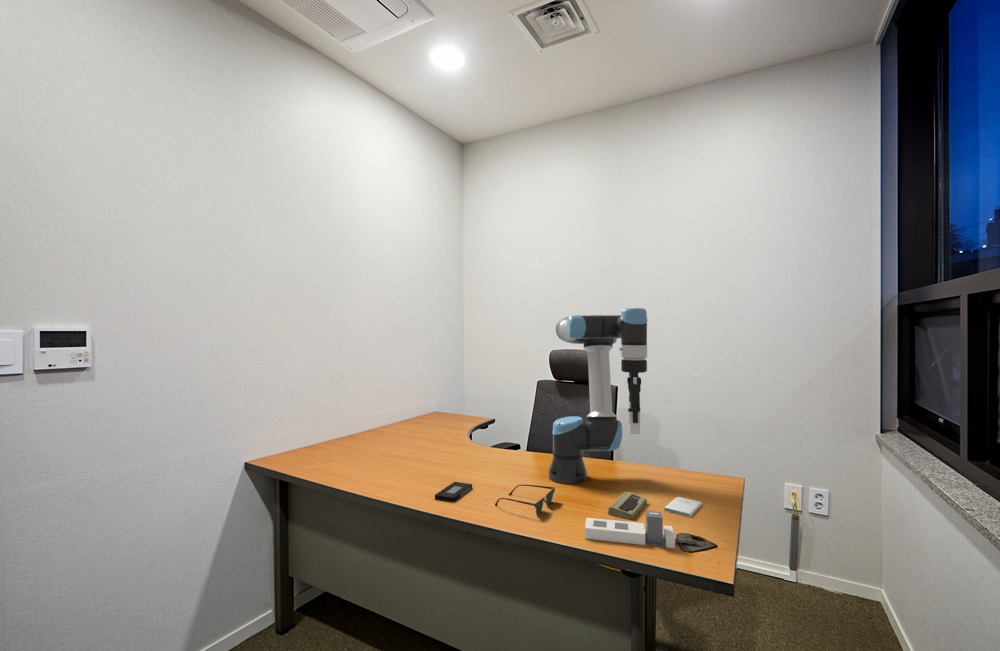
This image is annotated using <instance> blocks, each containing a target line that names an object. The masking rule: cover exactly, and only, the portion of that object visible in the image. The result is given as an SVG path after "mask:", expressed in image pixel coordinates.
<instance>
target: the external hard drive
mask: <svg viewBox="0 0 1000 651" xmlns="http://www.w3.org/2000/svg"><path fill="white" fill-rule="evenodd" d="M702 504H703V503H702V502H701V501H698V500H694V499H689V498H686V497H685V498H684V497H681V496H677V497H675V498H674V499H673V500H672V501H671V502H669V503H668V504H667V505H666V506H665V507H664V508H663V509H664V510H663V512H668V513H672V514H675V515H680V516H684V517H688V518H691V517H692V516H693V515H695V513H696V512H697V511H698V510H699V509H700V508H701V507H702Z"/></svg>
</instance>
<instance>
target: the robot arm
mask: <svg viewBox="0 0 1000 651" xmlns="http://www.w3.org/2000/svg"><path fill="white" fill-rule="evenodd" d="M647 314H648V313H647V310H646V309H645V308H644V307H638V308H637V307H630V308H629V307H628V308H623V309H621V311H620V315H619V314H618V315H615V314H614V315H613V314H612V315H611V314H610V315H605V314H604V315H601V314H598V315H597V314H596V315H594V314H593V315H592V314H591V315H580V314H577V315H570V316H565V317H563V318H561V319H560V320H559V321H557V323H556V326H555V333H556V335H557V337H558V339H560V340H562V341H563V342H565V343H569V344H574V345H576V344H577V345H578V344H580V345H583V350H585V352H587V365H588V389H589V392H588V393H589V413H588V414H587V415H586V420H584V419H583V418H582V417H581V416H578V415H577V416H572V415H571V416H564V417H561V418H557V419H556V420H555V421H554V422H553V423H552V459H551V463H550V466H549V469H548V479H550V481H553V482H556V483H559V484H566V485H567V484H568V485H571V484H572V485H573V484H574V485H576V484H582V483H583V482H586V481H587V480H588V471H587V468H586V464H585V461H584V457H583V454H584V453H583V452H604V451H605V452H612V451H617V450H618V449H619V448H620V447H621V443H622V440H623V426H622V422H621V421H620V420H619V419H617V415H616V414H615V413H614V412H613V402H612V400H613V399H612V383H611V381H612V378H611V366H610V365H611V363H610V362H611V360H610V351H611V350H612V349H614V348H613V347H614V346H613V345H614V344H616V343H617V339H620V340H621V341H620V342H621V343H620V344H621V347H619V348H618V350H619V352H621V358H622V359H621V362H620V363H621V365H620V367H621V368H620V369H621V372H623V373H628V377H627V378H626V380H627V381H626V382H627V389H628V392H629V393H628V394H629V395H628V403H629V404H628V409H627V412H628V424H629V425H630V426H629V427H630V429H629V430H630V435H641V396H640V395H641V394H640V392H642V391H641V390H642V388H641V386H642V378H641V377H639V373H641V374H643V373H646V372H648V360H647V358H648V315H647Z"/></svg>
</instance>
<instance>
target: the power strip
mask: <svg viewBox="0 0 1000 651" xmlns="http://www.w3.org/2000/svg"><path fill="white" fill-rule="evenodd" d="M584 525H585V526H584V539H587V540H597V541H604V542H615V543H622V544H633V545H641V546H651V547H658V548H659V547H661V548H669V549H676V544H682V543H692V544H697V545H698V540H696V539H688V538H687V539H686V538H678V537H676V536H675V533H674V528H673V526H672V525H666V524H663V543H655V542H647V537H646V528H645V523H643V522H634V521H625V520H624V521H622V520H615V519H614V520H613V519H603V518H595V517H586V519H585V524H584ZM681 542H682V543H681ZM692 544H691V545H692Z"/></svg>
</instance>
